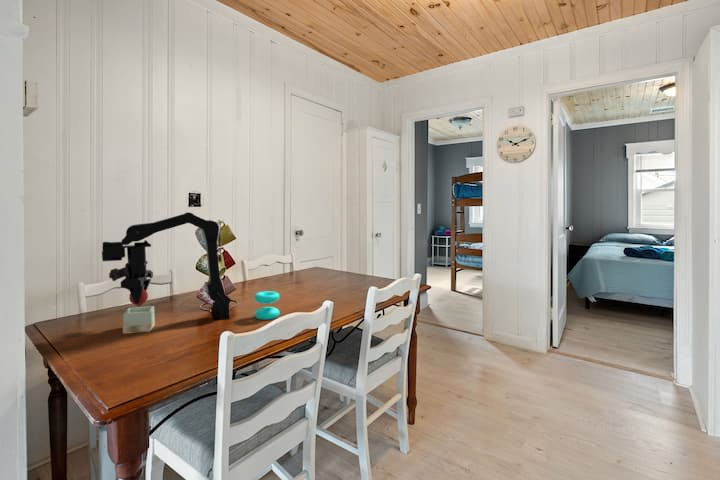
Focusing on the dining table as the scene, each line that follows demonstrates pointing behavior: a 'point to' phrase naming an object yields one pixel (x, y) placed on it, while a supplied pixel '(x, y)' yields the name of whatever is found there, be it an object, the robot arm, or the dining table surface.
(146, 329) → the base block
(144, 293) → the onion
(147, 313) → the pale green open box
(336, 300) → the dining table surface
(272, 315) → the donuts
